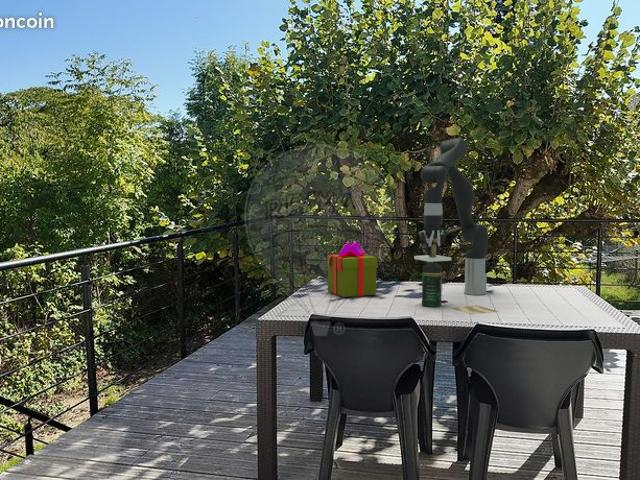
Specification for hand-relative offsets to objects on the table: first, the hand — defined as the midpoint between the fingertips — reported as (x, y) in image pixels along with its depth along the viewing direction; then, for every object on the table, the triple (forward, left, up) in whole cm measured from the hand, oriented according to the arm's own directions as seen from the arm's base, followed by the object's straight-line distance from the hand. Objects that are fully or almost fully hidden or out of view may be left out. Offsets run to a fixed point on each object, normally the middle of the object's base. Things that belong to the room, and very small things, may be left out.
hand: (432, 254), depth 241 cm
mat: (-10, +15, -22) cm, 29 cm away
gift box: (+16, -42, -22) cm, 50 cm away
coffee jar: (0, 0, -22) cm, 22 cm away
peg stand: (0, 0, -2) cm, 2 cm away
